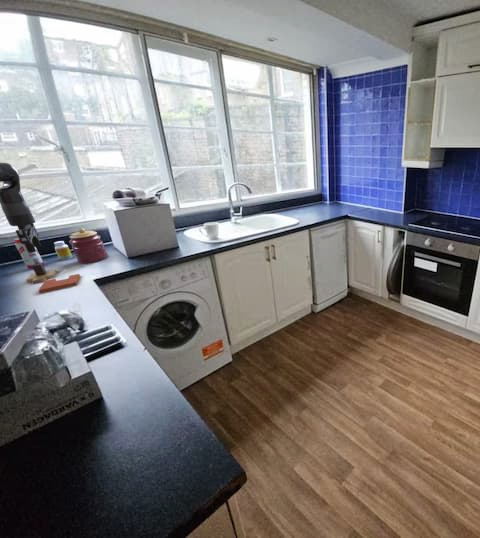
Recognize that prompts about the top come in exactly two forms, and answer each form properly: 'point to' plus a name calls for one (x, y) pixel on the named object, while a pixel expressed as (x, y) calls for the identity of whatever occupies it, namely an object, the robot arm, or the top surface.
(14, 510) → the top surface
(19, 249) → the beer can
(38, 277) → the cork pad
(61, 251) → the supplement bottle
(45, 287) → the rubber pad
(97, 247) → the kitchen canister
